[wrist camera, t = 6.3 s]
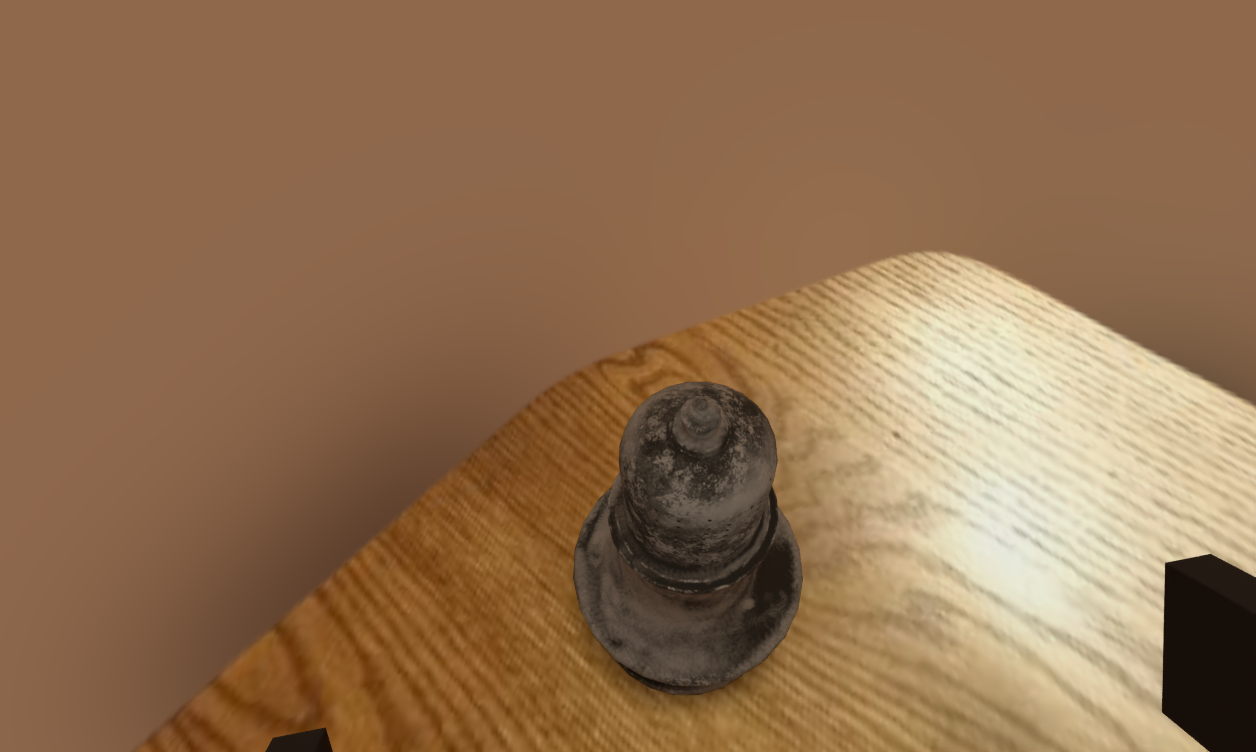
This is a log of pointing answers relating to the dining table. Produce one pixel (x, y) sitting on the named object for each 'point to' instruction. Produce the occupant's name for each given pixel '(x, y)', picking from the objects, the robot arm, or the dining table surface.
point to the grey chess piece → (690, 544)
